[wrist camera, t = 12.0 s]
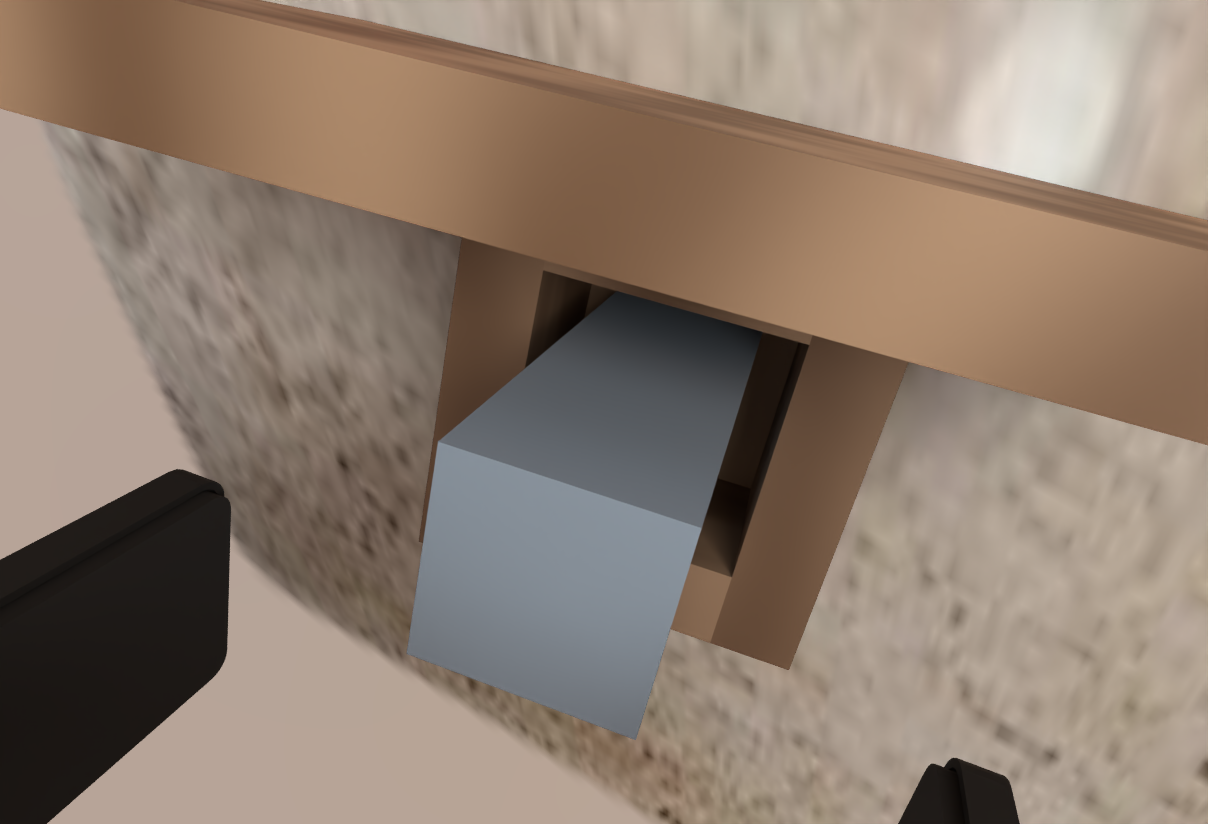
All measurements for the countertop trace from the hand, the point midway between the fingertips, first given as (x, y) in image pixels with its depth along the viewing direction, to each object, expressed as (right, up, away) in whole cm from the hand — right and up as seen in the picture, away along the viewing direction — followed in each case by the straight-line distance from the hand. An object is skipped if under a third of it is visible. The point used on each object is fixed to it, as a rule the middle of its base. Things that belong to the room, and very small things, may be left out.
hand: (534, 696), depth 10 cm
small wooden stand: (+4, +6, +15) cm, 16 cm away
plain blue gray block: (+3, +5, +13) cm, 14 cm away
